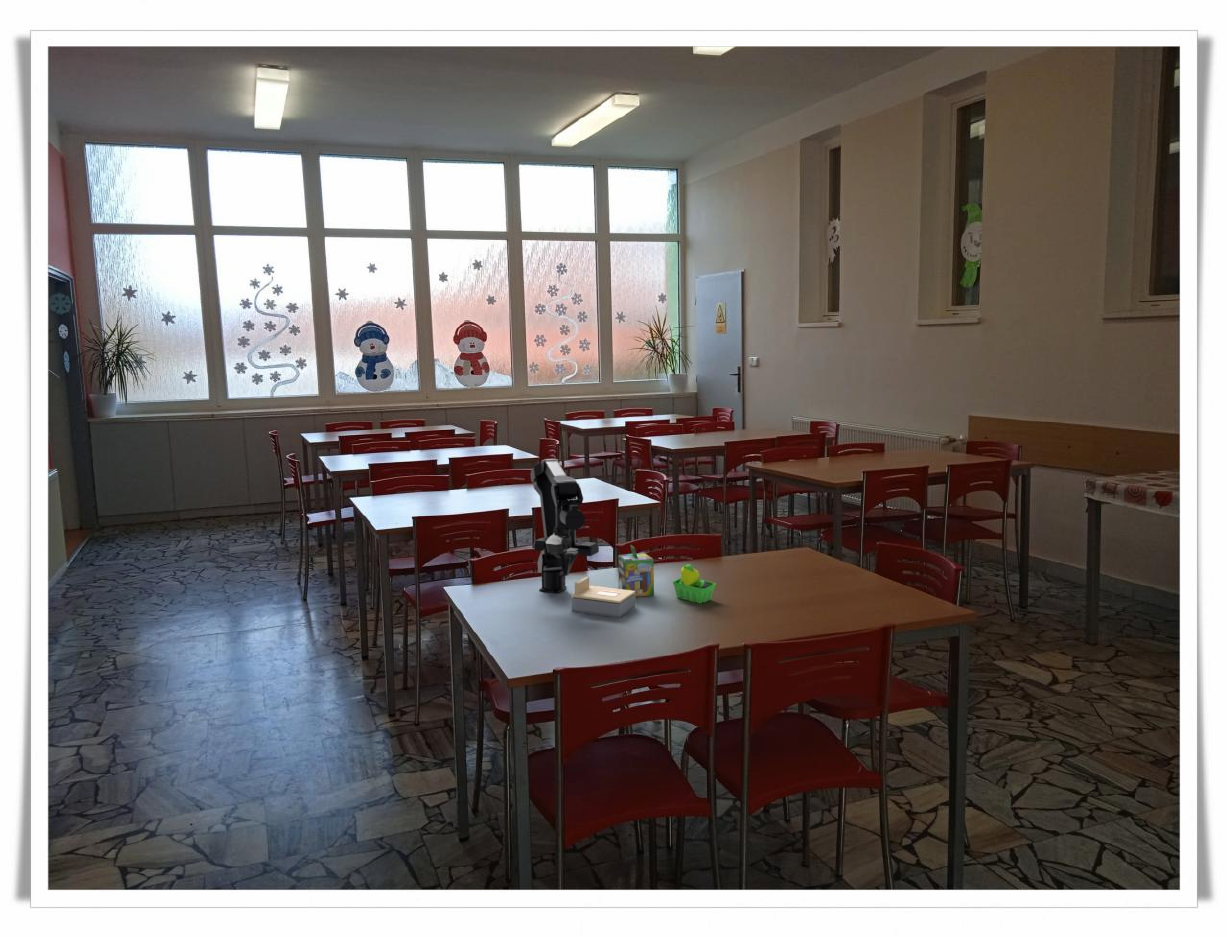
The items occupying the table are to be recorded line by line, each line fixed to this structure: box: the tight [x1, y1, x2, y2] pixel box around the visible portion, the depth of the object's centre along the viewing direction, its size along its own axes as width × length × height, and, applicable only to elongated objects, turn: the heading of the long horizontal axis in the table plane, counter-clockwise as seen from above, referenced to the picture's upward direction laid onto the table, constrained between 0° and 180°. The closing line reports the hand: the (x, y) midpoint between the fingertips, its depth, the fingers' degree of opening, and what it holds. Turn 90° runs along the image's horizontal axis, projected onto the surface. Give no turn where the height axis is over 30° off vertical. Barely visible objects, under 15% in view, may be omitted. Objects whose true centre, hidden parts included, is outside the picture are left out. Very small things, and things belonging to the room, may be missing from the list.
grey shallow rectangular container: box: [571, 594, 636, 619], centre depth 243 cm, size 15×11×4 cm
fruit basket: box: [672, 563, 717, 604], centre depth 253 cm, size 11×9×11 cm
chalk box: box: [617, 544, 655, 598], centre depth 259 cm, size 9×9×15 cm
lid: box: [571, 576, 635, 603], centre depth 243 cm, size 15×11×4 cm
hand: (566, 575), depth 247 cm, fingers closed
